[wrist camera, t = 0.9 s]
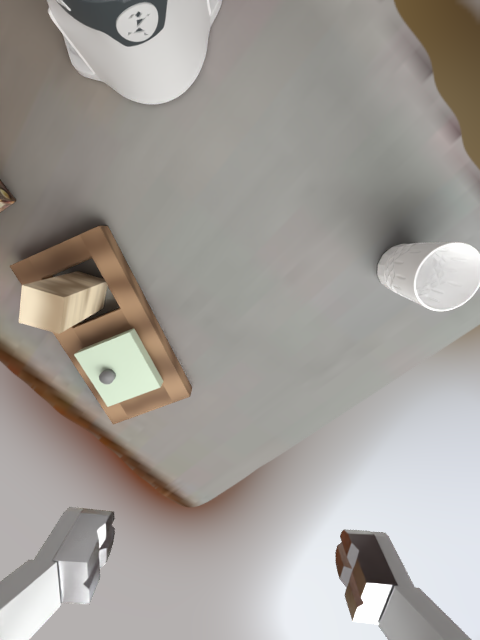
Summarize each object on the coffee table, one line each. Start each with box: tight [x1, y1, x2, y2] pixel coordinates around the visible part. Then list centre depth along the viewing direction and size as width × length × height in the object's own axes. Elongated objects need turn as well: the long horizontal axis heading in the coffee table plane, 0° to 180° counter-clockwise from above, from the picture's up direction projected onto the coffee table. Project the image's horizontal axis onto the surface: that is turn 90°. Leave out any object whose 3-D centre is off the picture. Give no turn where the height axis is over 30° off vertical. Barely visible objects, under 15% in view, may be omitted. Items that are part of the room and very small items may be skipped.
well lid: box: [74, 328, 163, 407], centre depth 41 cm, size 10×9×3 cm
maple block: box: [19, 271, 107, 334], centre depth 36 cm, size 4×4×11 cm
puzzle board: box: [10, 226, 192, 424], centre depth 42 cm, size 28×14×2 cm, turn 22°
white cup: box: [377, 242, 480, 311], centre depth 36 cm, size 8×8×10 cm
